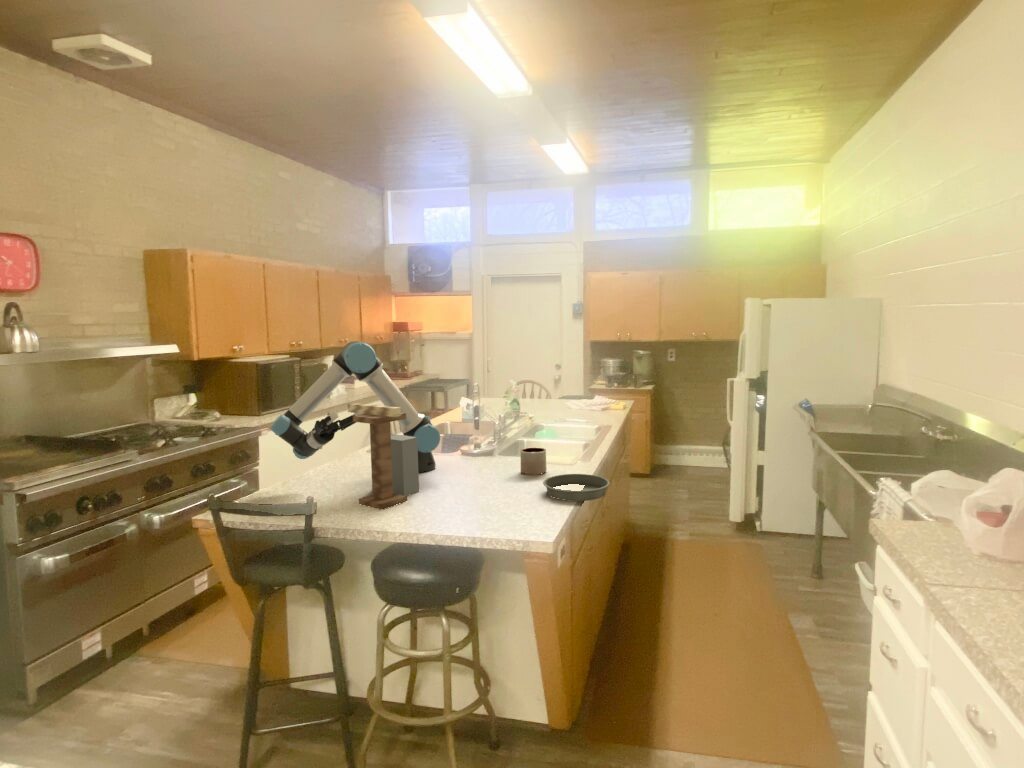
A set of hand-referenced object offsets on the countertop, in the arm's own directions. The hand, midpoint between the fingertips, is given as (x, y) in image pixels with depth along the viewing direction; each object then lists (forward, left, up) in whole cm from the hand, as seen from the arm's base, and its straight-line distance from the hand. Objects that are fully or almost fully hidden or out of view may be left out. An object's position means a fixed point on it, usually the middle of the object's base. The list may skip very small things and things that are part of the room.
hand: (351, 411), depth 241 cm
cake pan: (-79, +19, -33) cm, 88 cm away
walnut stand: (-9, +10, -32) cm, 35 cm away
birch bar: (-8, +8, 0) cm, 11 cm away
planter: (-73, -17, -33) cm, 82 cm away
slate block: (-15, -5, -32) cm, 36 cm away
